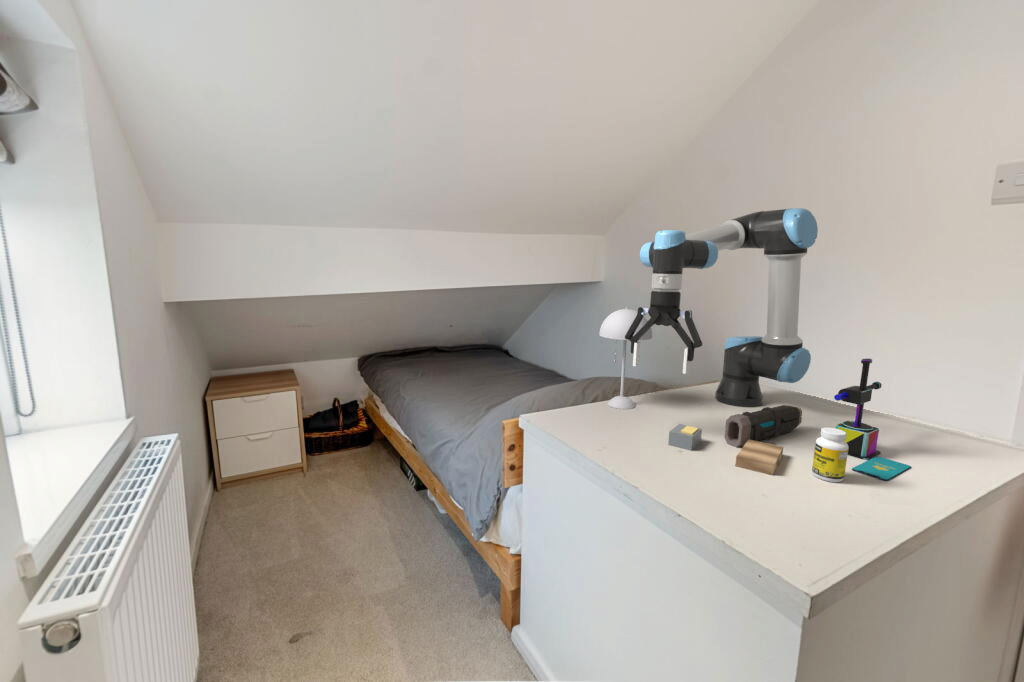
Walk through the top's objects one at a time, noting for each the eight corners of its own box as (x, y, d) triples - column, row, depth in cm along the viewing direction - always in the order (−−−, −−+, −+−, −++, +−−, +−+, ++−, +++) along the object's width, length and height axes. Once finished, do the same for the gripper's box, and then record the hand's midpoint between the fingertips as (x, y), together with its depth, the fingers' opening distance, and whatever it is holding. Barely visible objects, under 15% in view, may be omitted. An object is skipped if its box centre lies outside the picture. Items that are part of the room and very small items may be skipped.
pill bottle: (805, 473, 110) (810, 427, 108) (823, 469, 112) (829, 424, 111) (831, 485, 105) (837, 437, 103) (850, 480, 107) (857, 433, 105)
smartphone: (912, 465, 115) (887, 479, 107) (912, 468, 115) (886, 483, 107) (876, 455, 121) (850, 468, 113) (876, 458, 121) (850, 471, 113)
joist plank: (747, 448, 125) (748, 439, 124) (782, 456, 120) (783, 446, 120) (735, 465, 114) (736, 456, 113) (773, 475, 109) (774, 464, 108)
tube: (808, 443, 137) (745, 449, 122) (785, 441, 143) (722, 446, 128) (806, 405, 138) (743, 406, 123) (783, 404, 144) (720, 405, 129)
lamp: (588, 398, 168) (593, 305, 163) (634, 397, 171) (639, 305, 166) (607, 413, 151) (612, 310, 146) (656, 411, 155) (663, 310, 149)
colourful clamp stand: (861, 463, 117) (875, 365, 113) (821, 450, 124) (833, 359, 120) (900, 443, 130) (914, 356, 126) (862, 433, 138) (874, 350, 134)
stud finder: (678, 437, 132) (679, 422, 132) (700, 442, 129) (702, 427, 128) (668, 445, 126) (669, 430, 125) (691, 451, 123) (692, 435, 122)
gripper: (615, 288, 130) (611, 364, 133) (711, 293, 115) (704, 378, 119) (626, 287, 136) (622, 360, 139) (719, 292, 121) (711, 373, 125)
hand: (659, 369), depth 129 cm, fingers open, 13 cm apart
